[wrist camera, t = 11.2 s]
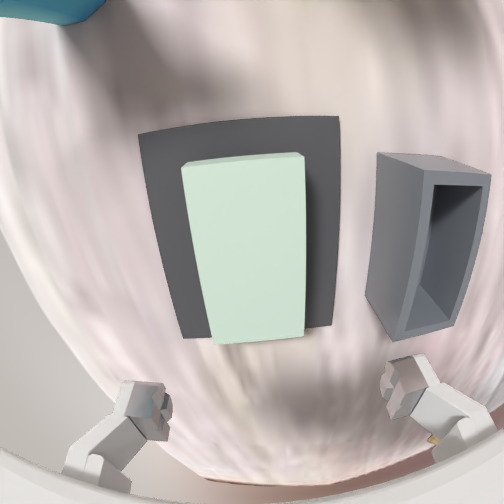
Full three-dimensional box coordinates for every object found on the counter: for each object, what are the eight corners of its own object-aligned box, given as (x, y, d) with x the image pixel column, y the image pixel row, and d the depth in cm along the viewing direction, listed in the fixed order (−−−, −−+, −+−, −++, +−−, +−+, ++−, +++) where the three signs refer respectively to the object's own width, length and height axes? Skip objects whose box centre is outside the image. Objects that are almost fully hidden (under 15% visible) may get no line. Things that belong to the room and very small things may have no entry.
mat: (336, 116, 17) (338, 116, 17) (330, 322, 25) (331, 325, 24) (139, 134, 17) (138, 134, 17) (183, 335, 25) (183, 338, 24)
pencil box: (440, 155, 18) (491, 174, 13) (420, 286, 24) (453, 325, 18) (376, 152, 18) (424, 170, 13) (364, 295, 24) (392, 341, 18)
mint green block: (293, 149, 18) (304, 156, 15) (296, 309, 23) (303, 336, 20) (190, 159, 18) (180, 168, 15) (216, 317, 23) (213, 344, 20)
